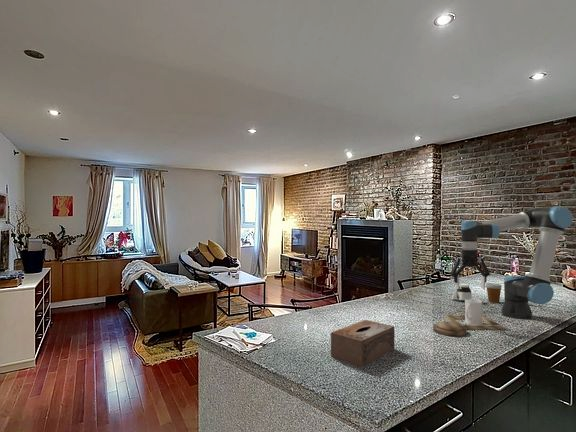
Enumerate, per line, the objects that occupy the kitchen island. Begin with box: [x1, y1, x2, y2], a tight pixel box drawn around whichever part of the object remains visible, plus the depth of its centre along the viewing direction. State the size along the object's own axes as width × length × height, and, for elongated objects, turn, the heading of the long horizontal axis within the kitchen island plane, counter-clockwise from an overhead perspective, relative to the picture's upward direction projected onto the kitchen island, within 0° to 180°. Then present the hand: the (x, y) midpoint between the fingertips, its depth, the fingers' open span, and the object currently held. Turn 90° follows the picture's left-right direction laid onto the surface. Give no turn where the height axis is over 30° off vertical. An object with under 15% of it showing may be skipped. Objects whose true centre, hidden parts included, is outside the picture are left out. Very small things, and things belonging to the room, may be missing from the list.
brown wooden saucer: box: [432, 321, 467, 337], centre depth 171 cm, size 15×15×3 cm
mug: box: [464, 298, 484, 325], centre depth 185 cm, size 12×8×12 cm
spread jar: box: [451, 283, 472, 303], centre depth 238 cm, size 12×11×12 cm
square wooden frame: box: [444, 314, 503, 331], centre depth 185 cm, size 20×20×2 cm
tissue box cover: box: [330, 319, 395, 368], centre depth 144 cm, size 26×14×10 cm, turn 135°
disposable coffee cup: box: [485, 282, 503, 304], centre depth 235 cm, size 10×10×12 cm
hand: (470, 288), depth 185 cm, fingers open, 13 cm apart
